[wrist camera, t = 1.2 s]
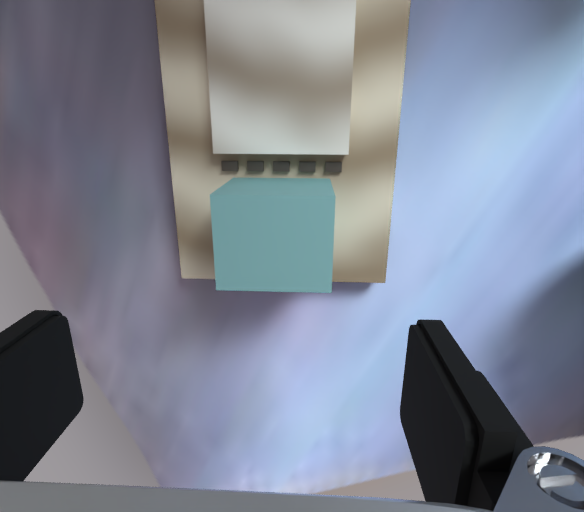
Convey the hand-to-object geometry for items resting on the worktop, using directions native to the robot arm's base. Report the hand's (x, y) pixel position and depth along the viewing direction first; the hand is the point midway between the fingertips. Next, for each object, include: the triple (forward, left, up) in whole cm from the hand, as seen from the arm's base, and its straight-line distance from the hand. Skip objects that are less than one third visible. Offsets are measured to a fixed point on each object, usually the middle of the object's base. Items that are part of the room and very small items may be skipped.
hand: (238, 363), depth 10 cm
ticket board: (-5, 0, -18) cm, 18 cm away
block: (0, 0, -15) cm, 15 cm away
